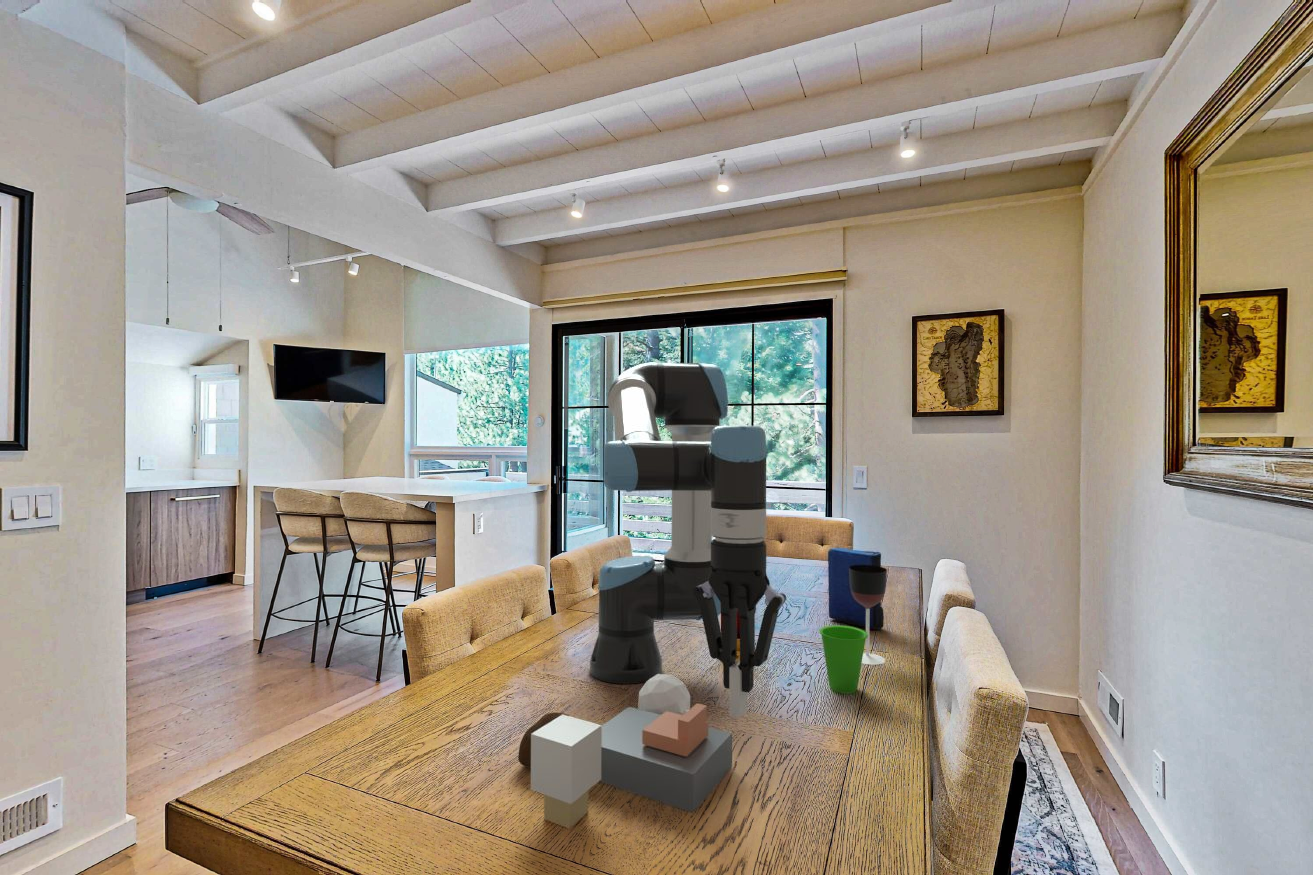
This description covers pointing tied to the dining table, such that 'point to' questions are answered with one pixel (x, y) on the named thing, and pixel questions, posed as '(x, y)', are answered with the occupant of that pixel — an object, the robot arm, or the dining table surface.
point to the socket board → (661, 762)
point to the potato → (526, 740)
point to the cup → (843, 656)
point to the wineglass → (868, 597)
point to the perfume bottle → (664, 695)
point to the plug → (565, 767)
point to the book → (840, 591)
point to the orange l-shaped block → (678, 731)
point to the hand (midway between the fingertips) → (738, 713)
